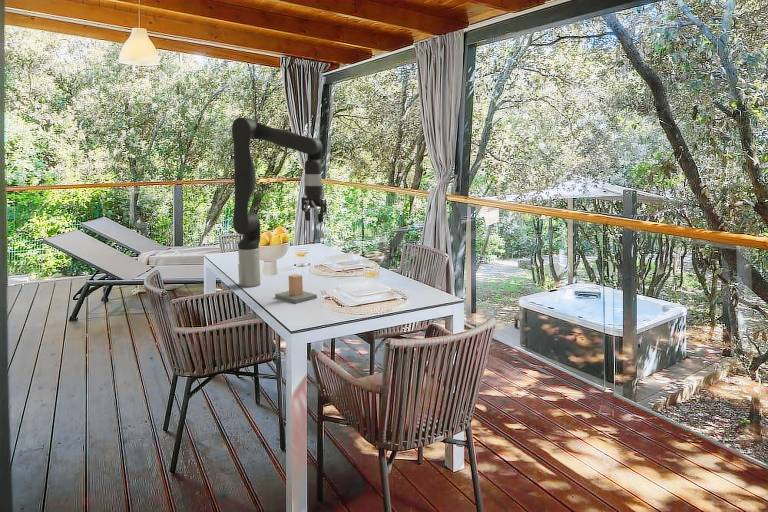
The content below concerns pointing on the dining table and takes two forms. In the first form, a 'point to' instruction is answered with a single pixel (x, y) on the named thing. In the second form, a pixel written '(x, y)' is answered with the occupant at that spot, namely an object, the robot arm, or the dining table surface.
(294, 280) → the terracotta block
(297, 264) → the dining table surface
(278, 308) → the dining table surface
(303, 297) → the slate tile
